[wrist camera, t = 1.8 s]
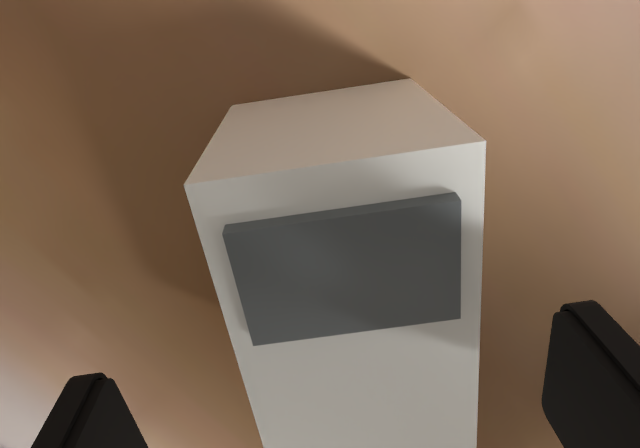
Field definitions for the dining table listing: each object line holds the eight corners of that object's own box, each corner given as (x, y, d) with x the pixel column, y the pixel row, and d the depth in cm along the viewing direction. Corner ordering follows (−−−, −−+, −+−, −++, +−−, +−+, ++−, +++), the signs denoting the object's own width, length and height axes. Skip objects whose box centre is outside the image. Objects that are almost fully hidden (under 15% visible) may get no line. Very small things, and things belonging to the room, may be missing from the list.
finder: (421, 314, 20) (480, 478, 13) (284, 332, 20) (275, 502, 13) (410, 77, 15) (493, 147, 8) (232, 104, 15) (178, 193, 9)
